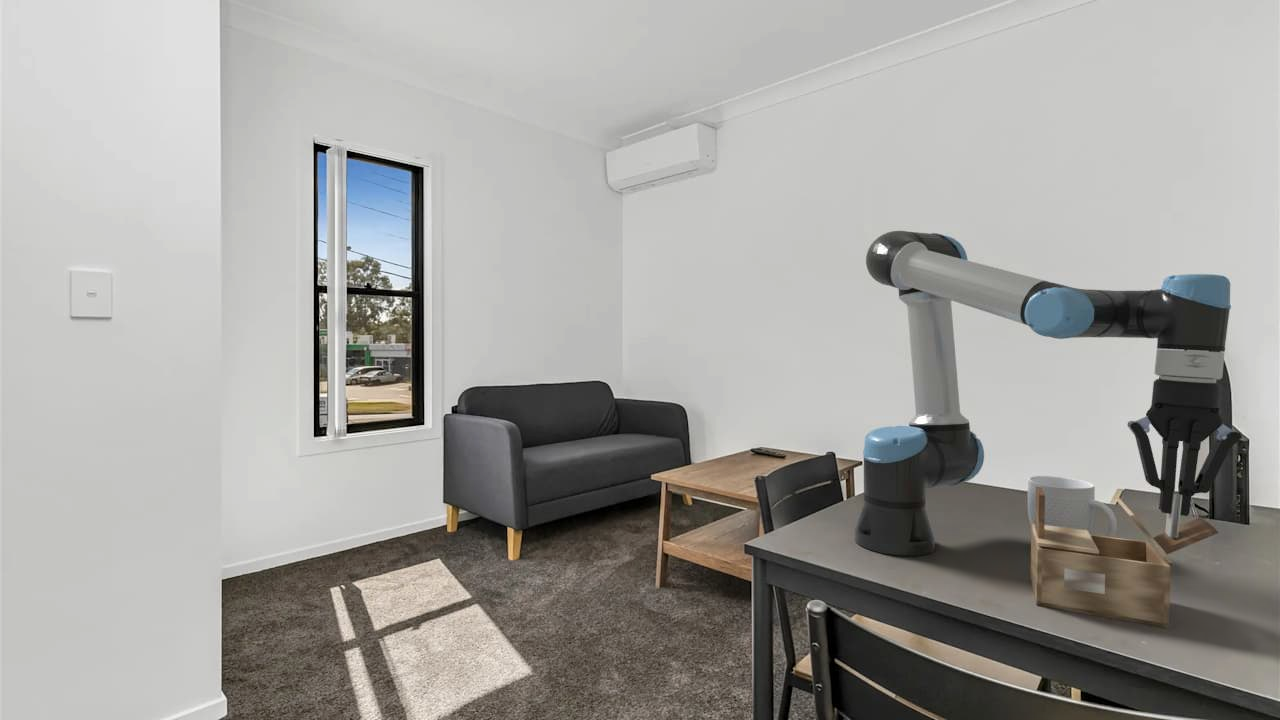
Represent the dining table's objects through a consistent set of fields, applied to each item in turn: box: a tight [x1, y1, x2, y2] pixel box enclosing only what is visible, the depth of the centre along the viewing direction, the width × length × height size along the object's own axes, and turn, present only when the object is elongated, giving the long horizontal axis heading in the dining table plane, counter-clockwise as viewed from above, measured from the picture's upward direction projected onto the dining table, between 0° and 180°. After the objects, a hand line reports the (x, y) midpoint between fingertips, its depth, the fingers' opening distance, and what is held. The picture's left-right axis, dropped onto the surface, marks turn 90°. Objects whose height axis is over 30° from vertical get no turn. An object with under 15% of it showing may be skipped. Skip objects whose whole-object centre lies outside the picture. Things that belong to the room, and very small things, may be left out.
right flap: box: [1115, 496, 1219, 565], centre depth 92 cm, size 8×11×8 cm
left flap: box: [1032, 487, 1099, 554], centre depth 98 cm, size 8×11×8 cm
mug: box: [1027, 475, 1118, 538], centre depth 120 cm, size 15×11×13 cm
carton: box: [1029, 527, 1171, 629], centre depth 96 cm, size 16×12×9 cm
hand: (1171, 535), depth 91 cm, fingers closed
